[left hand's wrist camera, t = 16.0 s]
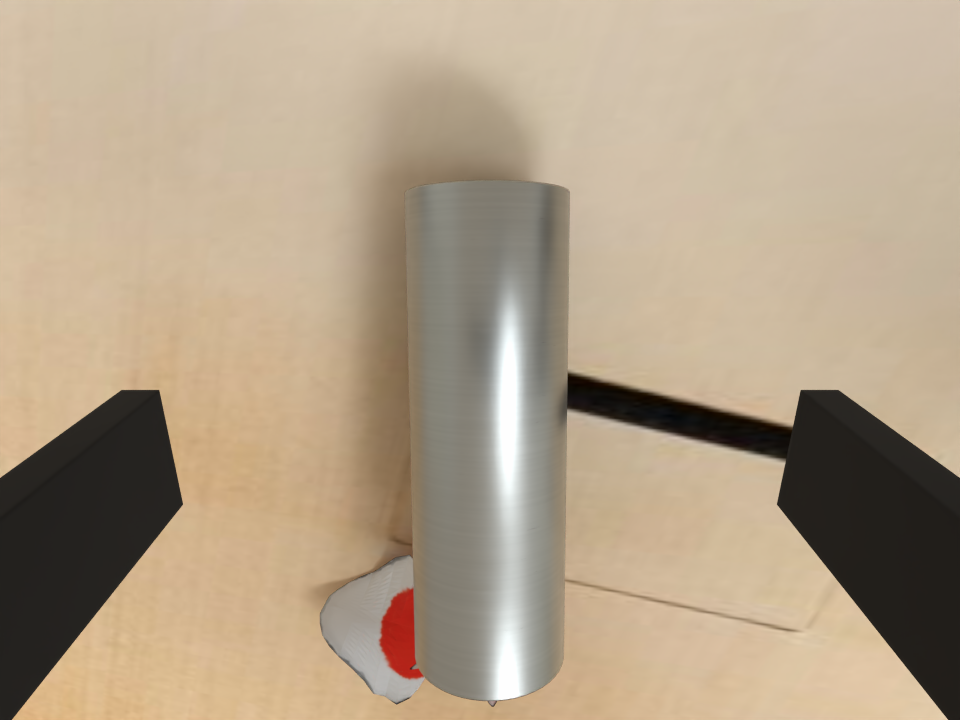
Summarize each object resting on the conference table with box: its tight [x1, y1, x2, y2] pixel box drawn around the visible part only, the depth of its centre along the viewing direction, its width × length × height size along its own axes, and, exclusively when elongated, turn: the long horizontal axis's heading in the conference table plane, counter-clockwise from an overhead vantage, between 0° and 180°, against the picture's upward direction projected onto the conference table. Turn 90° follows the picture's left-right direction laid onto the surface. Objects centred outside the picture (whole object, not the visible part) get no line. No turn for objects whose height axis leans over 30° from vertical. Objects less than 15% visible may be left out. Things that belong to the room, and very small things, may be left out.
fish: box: [320, 555, 497, 707], centre depth 40 cm, size 11×16×10 cm
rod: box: [405, 180, 570, 701], centre depth 32 cm, size 25×8×8 cm, turn 179°
